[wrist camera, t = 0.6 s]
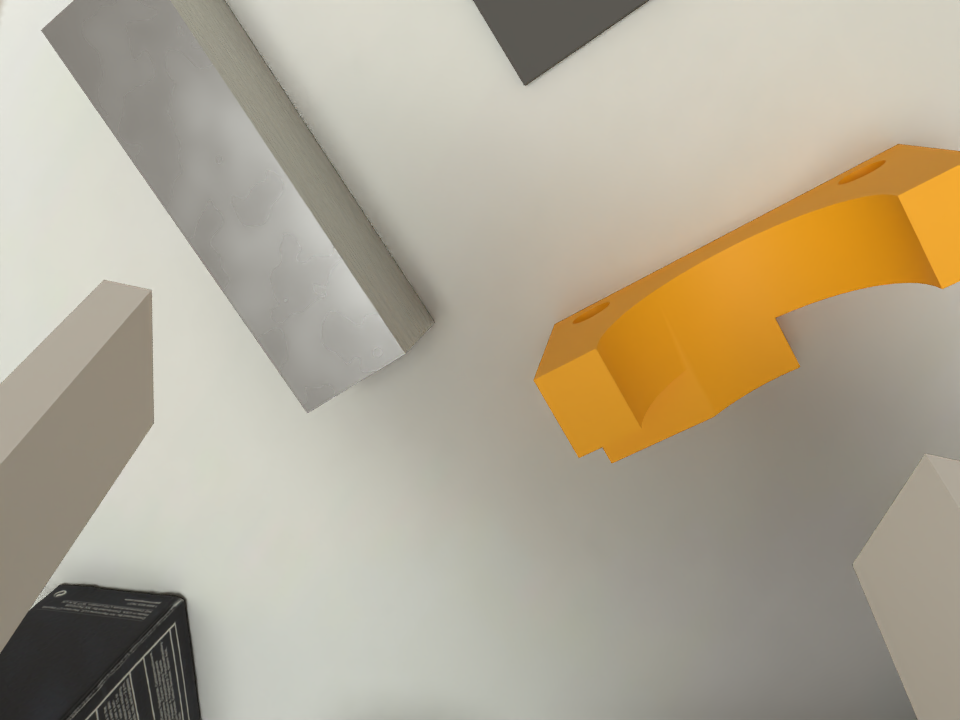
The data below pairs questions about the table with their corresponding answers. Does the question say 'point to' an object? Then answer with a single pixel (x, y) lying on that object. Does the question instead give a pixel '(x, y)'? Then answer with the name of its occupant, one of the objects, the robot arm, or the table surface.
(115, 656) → the small box
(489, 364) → the table surface
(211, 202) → the grey rectangular bar
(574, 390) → the pipe clamp
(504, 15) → the pad
